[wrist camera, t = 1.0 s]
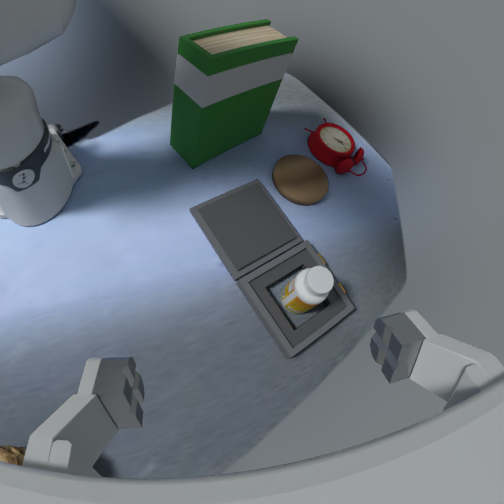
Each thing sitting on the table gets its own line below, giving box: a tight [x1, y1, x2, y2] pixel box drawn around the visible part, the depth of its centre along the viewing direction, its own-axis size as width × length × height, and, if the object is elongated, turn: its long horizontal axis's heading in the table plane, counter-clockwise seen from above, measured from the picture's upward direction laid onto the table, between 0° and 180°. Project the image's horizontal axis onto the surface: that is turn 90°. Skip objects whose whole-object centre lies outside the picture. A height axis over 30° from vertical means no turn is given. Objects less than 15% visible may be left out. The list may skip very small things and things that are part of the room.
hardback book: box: [170, 19, 298, 169], centre depth 50 cm, size 18×7×24 cm, turn 132°
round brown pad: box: [272, 155, 328, 205], centre depth 61 cm, size 11×11×2 cm
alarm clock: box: [305, 118, 367, 176], centre depth 65 cm, size 10×6×15 cm
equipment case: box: [190, 179, 355, 359], centre depth 52 cm, size 28×15×2 cm, turn 34°
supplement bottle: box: [281, 266, 334, 314], centre depth 47 cm, size 5×5×10 cm
